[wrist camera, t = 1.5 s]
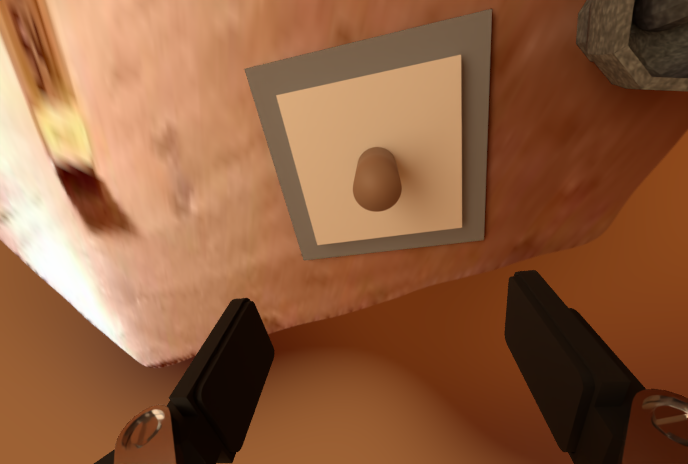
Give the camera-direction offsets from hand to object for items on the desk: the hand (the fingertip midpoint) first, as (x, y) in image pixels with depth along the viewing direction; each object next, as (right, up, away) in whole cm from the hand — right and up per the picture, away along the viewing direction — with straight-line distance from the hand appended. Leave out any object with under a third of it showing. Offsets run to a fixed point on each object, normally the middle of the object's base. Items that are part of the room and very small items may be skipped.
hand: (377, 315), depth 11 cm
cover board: (+2, +10, +17) cm, 20 cm away
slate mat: (+2, +10, +17) cm, 20 cm away
